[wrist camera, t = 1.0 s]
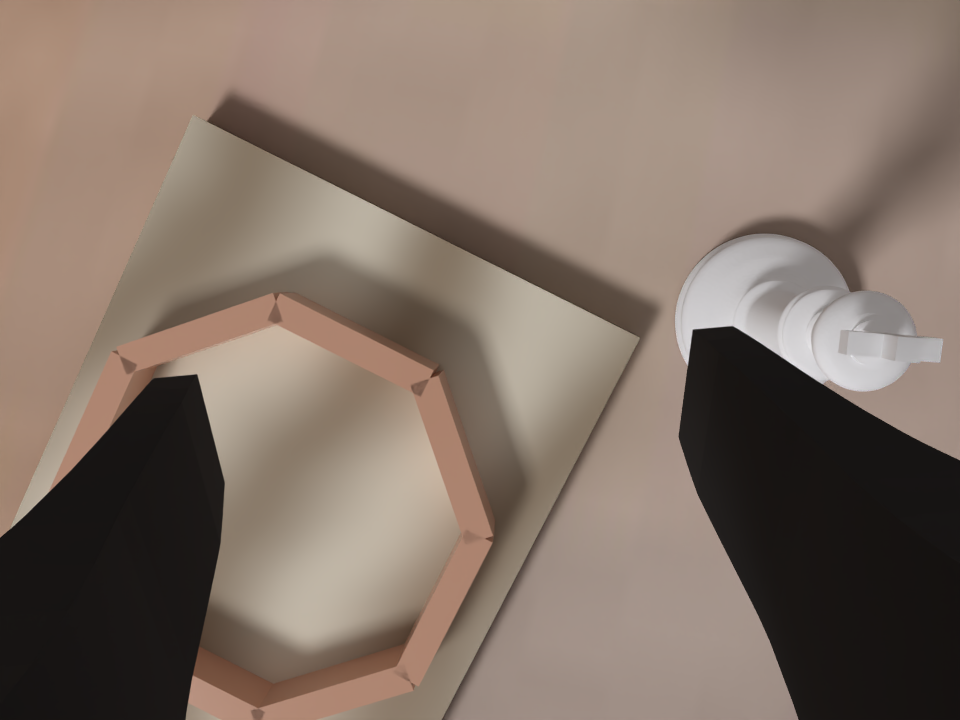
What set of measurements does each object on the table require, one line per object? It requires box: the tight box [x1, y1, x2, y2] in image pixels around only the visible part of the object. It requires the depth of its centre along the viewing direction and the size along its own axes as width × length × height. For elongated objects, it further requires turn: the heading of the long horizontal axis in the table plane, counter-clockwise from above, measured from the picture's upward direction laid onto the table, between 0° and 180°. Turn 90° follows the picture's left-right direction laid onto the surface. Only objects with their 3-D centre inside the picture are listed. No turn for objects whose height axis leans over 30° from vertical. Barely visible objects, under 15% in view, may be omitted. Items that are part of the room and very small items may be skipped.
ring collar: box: [49, 292, 495, 720], centre depth 25 cm, size 12×12×2 cm
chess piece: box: [675, 234, 943, 391], centre depth 20 cm, size 5×5×10 cm
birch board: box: [10, 115, 640, 720], centre depth 26 cm, size 14×18×1 cm
